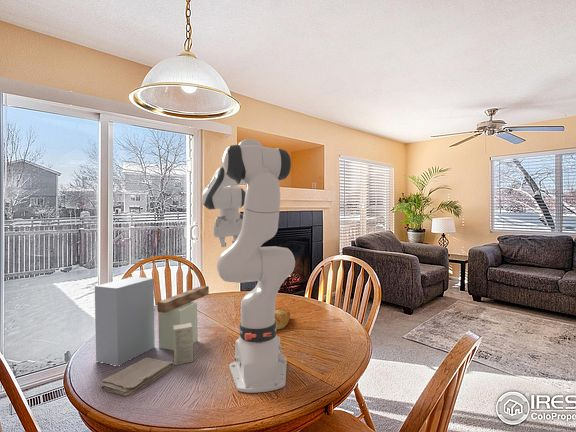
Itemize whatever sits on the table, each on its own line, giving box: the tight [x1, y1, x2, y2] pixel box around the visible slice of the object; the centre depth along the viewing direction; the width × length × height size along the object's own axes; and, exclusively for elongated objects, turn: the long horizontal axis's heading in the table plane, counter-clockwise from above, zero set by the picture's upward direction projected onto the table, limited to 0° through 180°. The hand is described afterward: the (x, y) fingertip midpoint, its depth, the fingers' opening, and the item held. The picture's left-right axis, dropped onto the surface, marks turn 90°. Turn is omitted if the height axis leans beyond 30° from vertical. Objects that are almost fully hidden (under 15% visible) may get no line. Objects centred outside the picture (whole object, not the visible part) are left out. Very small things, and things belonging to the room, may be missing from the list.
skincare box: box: [173, 323, 194, 366], centre depth 105 cm, size 6×4×12 cm
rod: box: [156, 285, 210, 313], centre depth 122 cm, size 26×4×4 cm, turn 159°
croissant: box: [275, 308, 291, 331], centre depth 137 cm, size 21×10×8 cm, turn 154°
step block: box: [157, 301, 199, 351], centre depth 118 cm, size 10×10×15 cm
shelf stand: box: [94, 276, 156, 367], centre depth 110 cm, size 16×10×26 cm, turn 159°
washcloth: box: [100, 357, 175, 397], centre depth 95 cm, size 12×18×3 cm, turn 157°
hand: (229, 245), depth 142 cm, fingers open, 8 cm apart
